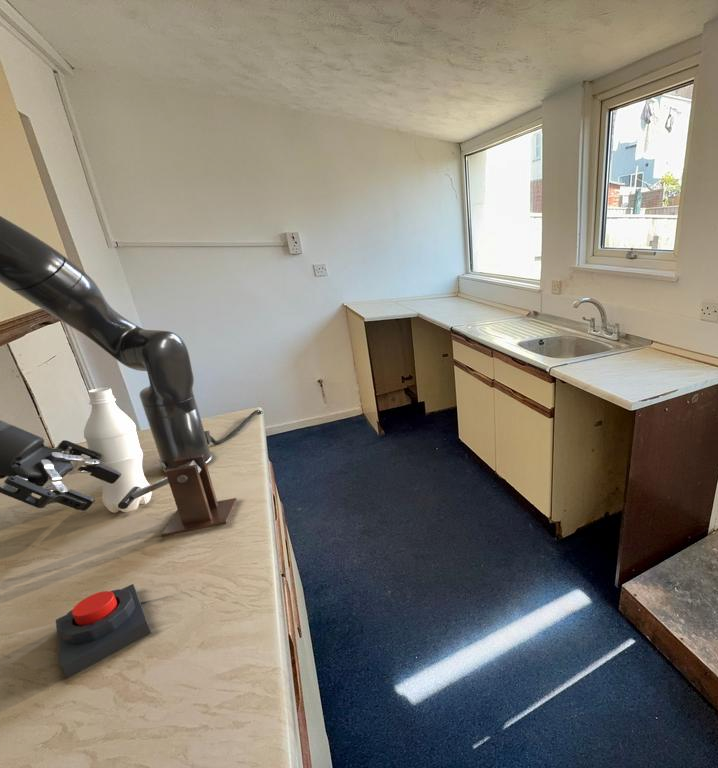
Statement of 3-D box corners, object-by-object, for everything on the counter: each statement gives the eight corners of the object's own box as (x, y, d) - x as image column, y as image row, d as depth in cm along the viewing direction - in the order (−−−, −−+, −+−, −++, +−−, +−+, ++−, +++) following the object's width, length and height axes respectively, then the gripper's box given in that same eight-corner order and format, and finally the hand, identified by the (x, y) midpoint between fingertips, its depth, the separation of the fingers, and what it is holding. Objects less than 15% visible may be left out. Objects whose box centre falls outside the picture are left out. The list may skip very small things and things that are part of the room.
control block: (61, 631, 55) (50, 609, 54) (137, 594, 61) (129, 574, 59) (67, 679, 49) (55, 656, 48) (151, 633, 55) (142, 611, 53)
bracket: (162, 539, 72) (141, 479, 68) (179, 513, 79) (161, 457, 75) (227, 526, 76) (210, 468, 71) (237, 502, 83) (223, 448, 78)
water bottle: (125, 519, 77) (91, 397, 70) (96, 513, 78) (60, 393, 71) (163, 499, 84) (136, 386, 77) (136, 494, 85) (106, 383, 78)
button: (74, 614, 53) (70, 604, 53) (115, 595, 56) (111, 586, 56) (77, 631, 51) (72, 621, 50) (119, 611, 54) (115, 601, 53)
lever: (123, 512, 70) (113, 502, 69) (137, 496, 74) (128, 486, 73) (195, 479, 72) (186, 469, 71) (204, 465, 77) (196, 456, 76)
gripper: (-36, 446, 56) (96, 498, 64) (35, 410, 69) (138, 456, 76) (-72, 486, 56) (65, 533, 64) (6, 442, 68) (112, 485, 76)
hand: (105, 491), depth 70 cm, fingers open, 8 cm apart
